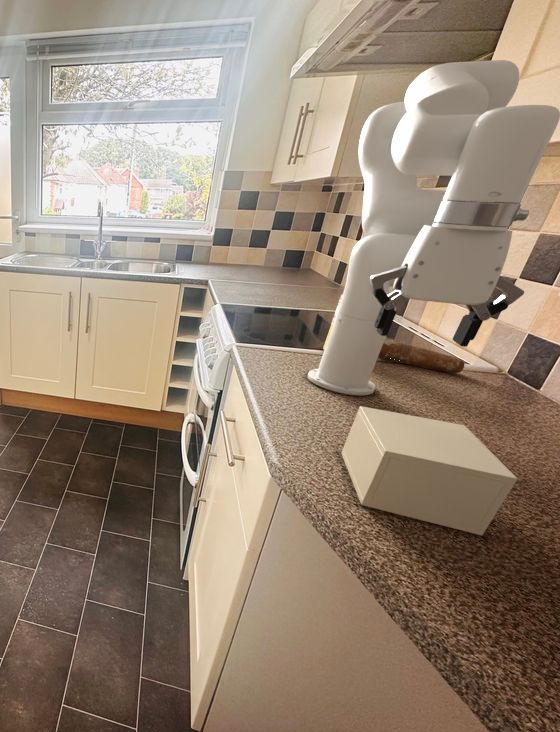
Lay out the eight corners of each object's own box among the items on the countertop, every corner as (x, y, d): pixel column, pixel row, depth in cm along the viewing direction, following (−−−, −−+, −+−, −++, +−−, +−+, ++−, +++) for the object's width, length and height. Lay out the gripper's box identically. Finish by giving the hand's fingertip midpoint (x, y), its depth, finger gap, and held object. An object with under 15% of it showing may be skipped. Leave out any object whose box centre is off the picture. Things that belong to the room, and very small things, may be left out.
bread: (367, 352, 114) (375, 332, 112) (460, 372, 103) (470, 351, 100) (364, 357, 110) (371, 337, 108) (460, 379, 98) (471, 357, 96)
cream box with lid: (341, 453, 67) (359, 405, 63) (438, 474, 62) (464, 425, 59) (361, 505, 55) (385, 450, 52) (482, 535, 51) (518, 478, 47)
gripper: (541, 219, 56) (480, 340, 63) (387, 212, 62) (347, 323, 69) (579, 223, 49) (505, 356, 57) (403, 214, 55) (357, 336, 63)
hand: (419, 338), depth 63 cm, fingers open, 9 cm apart
